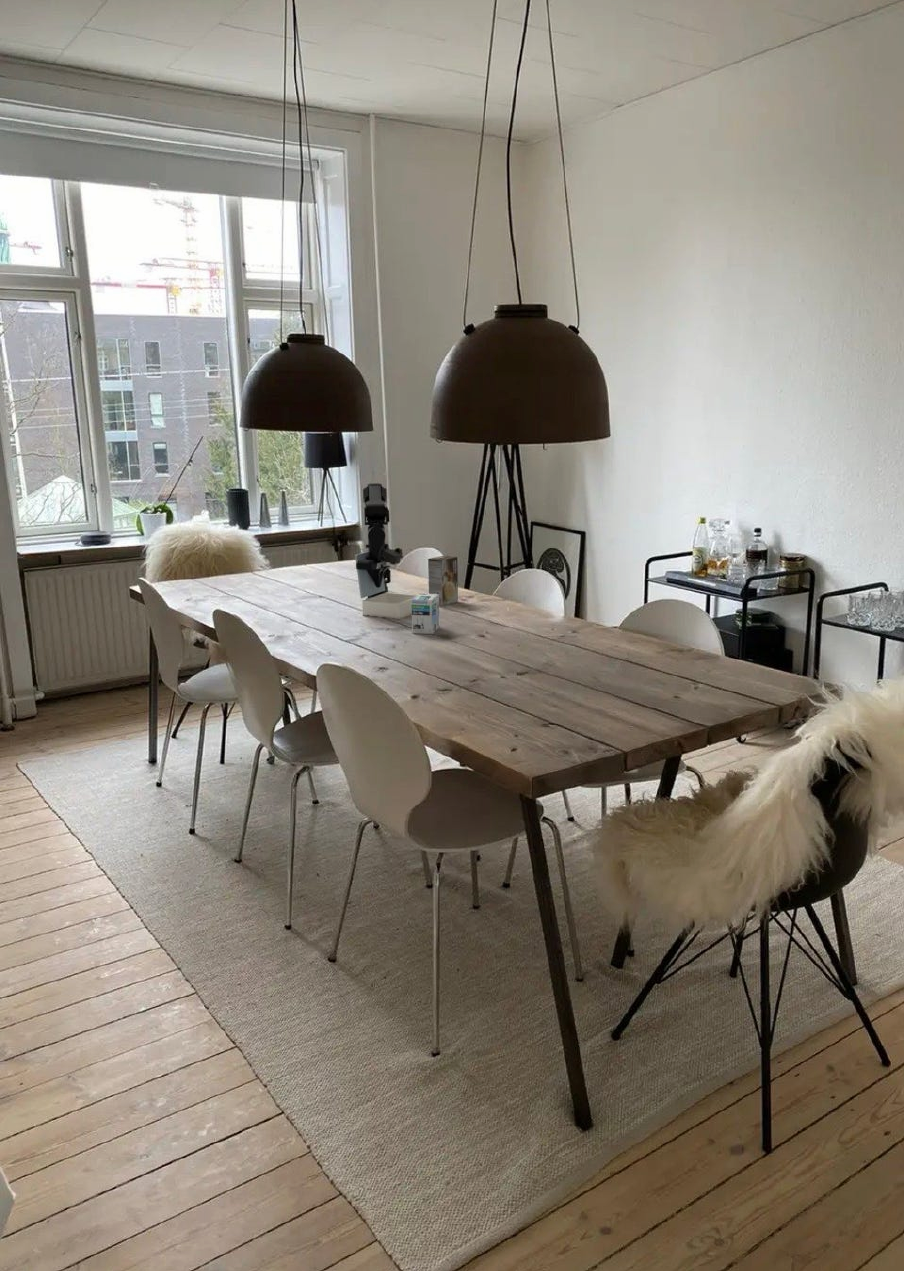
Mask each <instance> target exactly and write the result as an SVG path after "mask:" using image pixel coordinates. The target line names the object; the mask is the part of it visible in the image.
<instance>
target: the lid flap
mask: <svg viewBox="0 0 904 1271" xmlns="http://www.w3.org/2000/svg"><path fill="white" fill-rule="evenodd" d="M368 556H369V552H368V551H365V552H360V553H357V554H354V559H355V564H356V563H357V562H358V561H360V560H366V557H368ZM356 572H357V581H358V588H359V594H360V595H359V596H360V599H364V598H365V599H366V598H368V596H370V595H373V594H376V593H379V592H382V591H385V585H384V577H383V579H382V583H381V587H379V588H377V587H376V586H375V584H374V582H373V580H372V578H371V576H370V575H369V573H368V571H367V570H359V569H356Z"/></svg>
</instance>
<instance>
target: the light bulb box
mask: <svg viewBox="0 0 904 1271" xmlns="http://www.w3.org/2000/svg"><path fill="white" fill-rule="evenodd" d="M416 595H417V596H415V597H414V598H413V599H412V600H411V602H412V614H411V633H412V634H423V635H433V634H434V633H436V631H437V630H438V629H439V628H440V605H439V594H429V593H425V592H424V593H422V592H421V593H420V592H418V594H416Z"/></svg>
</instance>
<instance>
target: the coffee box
mask: <svg viewBox="0 0 904 1271" xmlns="http://www.w3.org/2000/svg"><path fill="white" fill-rule="evenodd" d="M427 561H428V562H427V563H428V564H427V565H428V569H427V570H428V575H427V576H428V594H439V606H442V607H443V606H447V605H450V604H453V603H457V602H458V601H459V587H458V586H459V583H458V582H459V580H458V556H450V555H440V556H436V557H431V558H428V559H427Z"/></svg>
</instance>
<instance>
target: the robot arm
mask: <svg viewBox="0 0 904 1271" xmlns="http://www.w3.org/2000/svg"><path fill="white" fill-rule="evenodd" d="M387 493H388V492H387V488H385V487H384V486H383V485H382V483H380V482H377V483H376V482H375V483H374V482H373V483H372V482H371V483H367V486H366V487H365V488H363V489H362V502H363V504H365V506H364V507H363V509H364V510H363V511H364V512H363V513H364V526H367V544H365V548H366V549H368V552H369V556H368V557H366V560H360V561H358V562H357V563H356V562H355V569H356V570H357V569H359V570H367V571H368V573H369V575H370V576H371V578H372V580H373V582H374V584H375V586H376V587H377V588H379V587H381V583H382V579H383V577H384V585H385V591H382V592H379V593H376V594H373V595H370V596H368V597H365V600H366V599H369V598H372V597H375V596H377V595H380V594H383V593H386V592H388V593H389V586H388V584H390V583H392V582H391V579H392V578H391V570H390V567H391V565H393V566H394V565H396V564H400V562H401V560H402V559H403V558H404V553H403V549H402V548H400V547H397V548H395V549H393V548H392V549H391V548H390V545H389V544H388V543H386V526H388V525H389V523H390V509H389V507H388V506H386V503H387V502H388V501H387V499H388V496H387ZM387 563H389V565H387Z"/></svg>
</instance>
